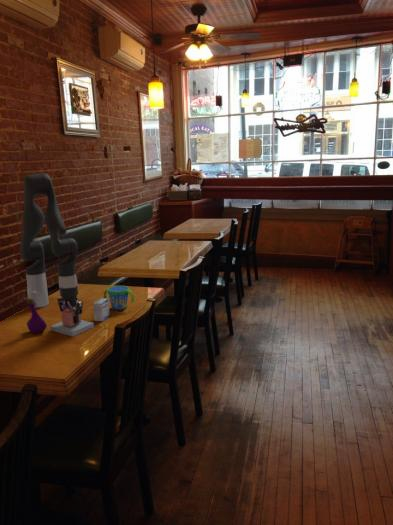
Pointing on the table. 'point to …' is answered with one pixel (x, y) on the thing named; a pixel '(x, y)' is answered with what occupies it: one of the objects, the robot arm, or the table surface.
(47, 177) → the robot arm
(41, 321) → the perfume bottle
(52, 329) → the panel
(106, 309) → the medicine box
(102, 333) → the table surface
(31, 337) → the table surface
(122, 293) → the snack cup
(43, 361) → the table surface
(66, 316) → the knob
